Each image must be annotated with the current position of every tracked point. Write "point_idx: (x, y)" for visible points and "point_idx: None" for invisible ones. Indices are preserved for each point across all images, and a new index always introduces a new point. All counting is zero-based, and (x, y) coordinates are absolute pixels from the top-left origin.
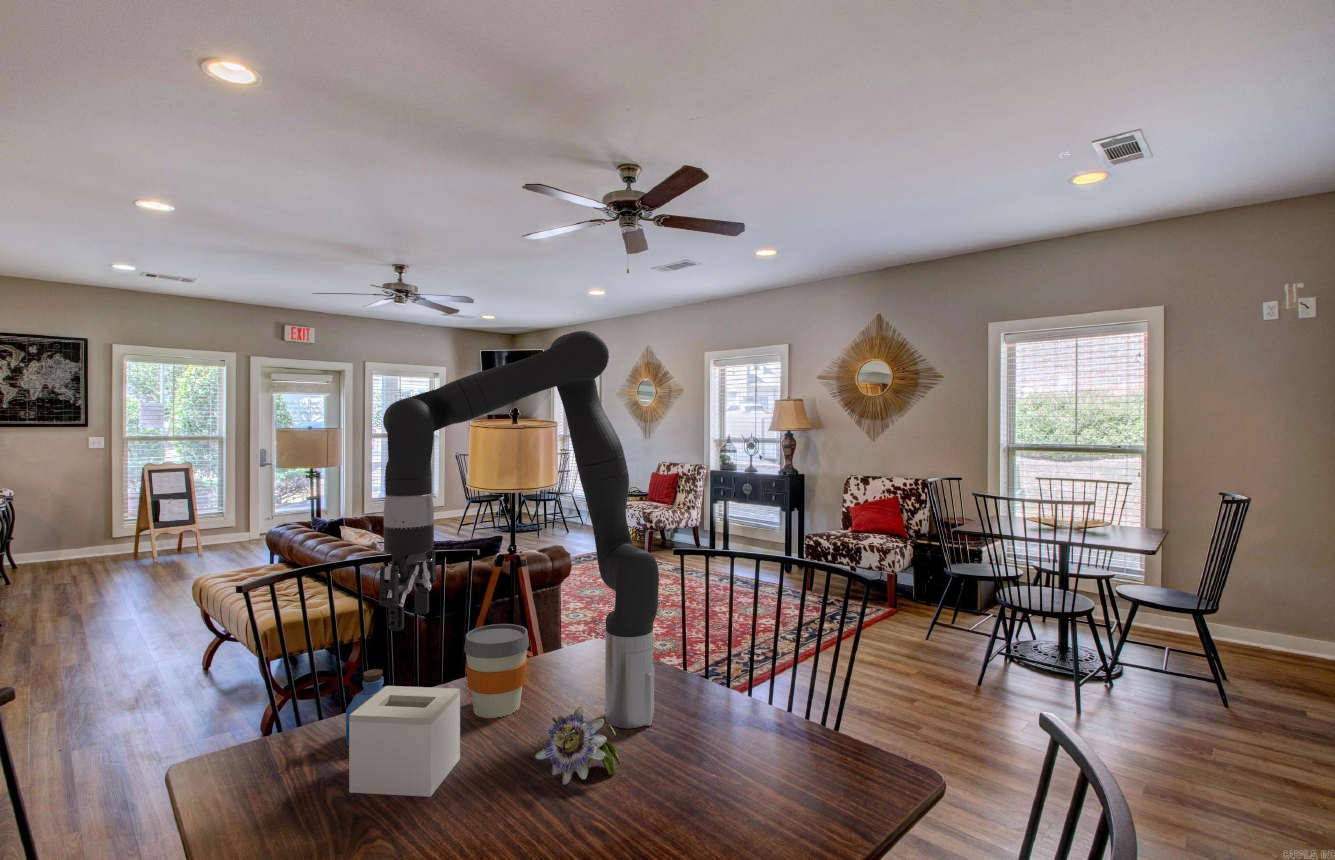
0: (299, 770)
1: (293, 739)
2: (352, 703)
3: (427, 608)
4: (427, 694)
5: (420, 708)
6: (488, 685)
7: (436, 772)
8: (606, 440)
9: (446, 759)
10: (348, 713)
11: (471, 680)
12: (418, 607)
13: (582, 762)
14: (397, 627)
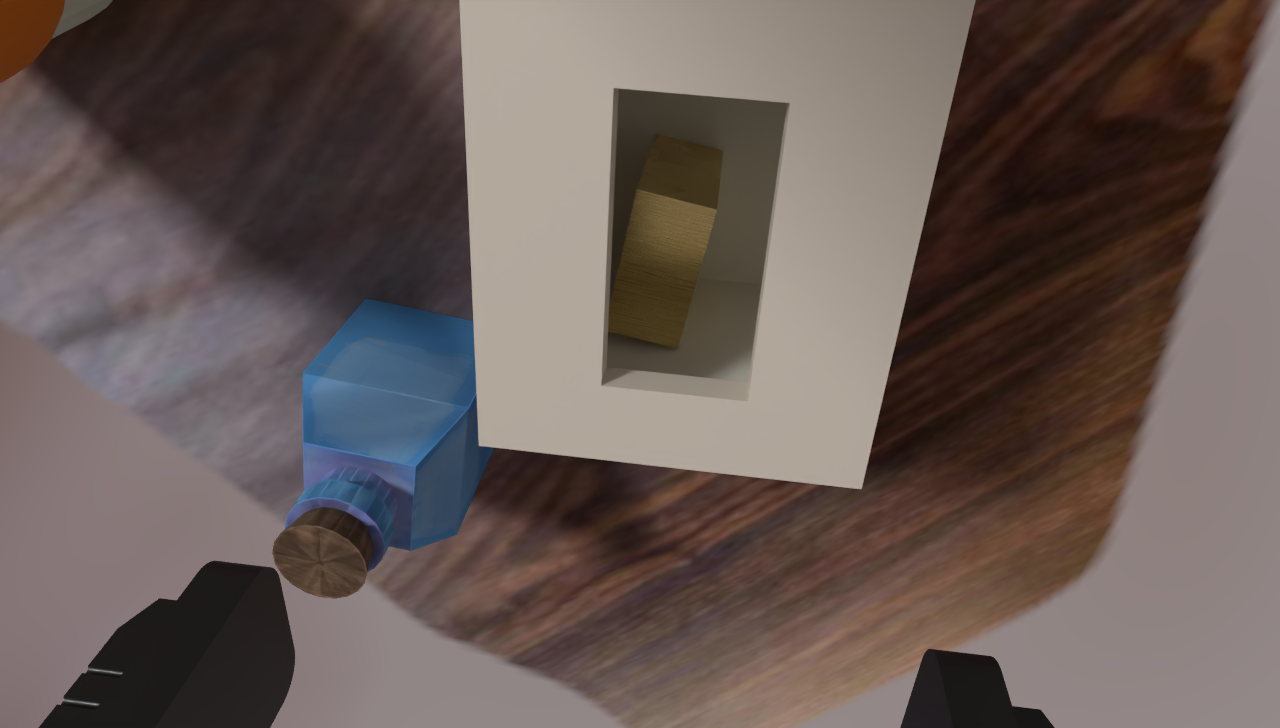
0: (676, 513)
1: (481, 607)
2: (437, 533)
3: (225, 608)
4: (577, 167)
5: (800, 133)
6: None
7: None
8: None
9: None
10: (461, 516)
11: (15, 46)
12: (251, 711)
13: None
14: (1046, 721)
